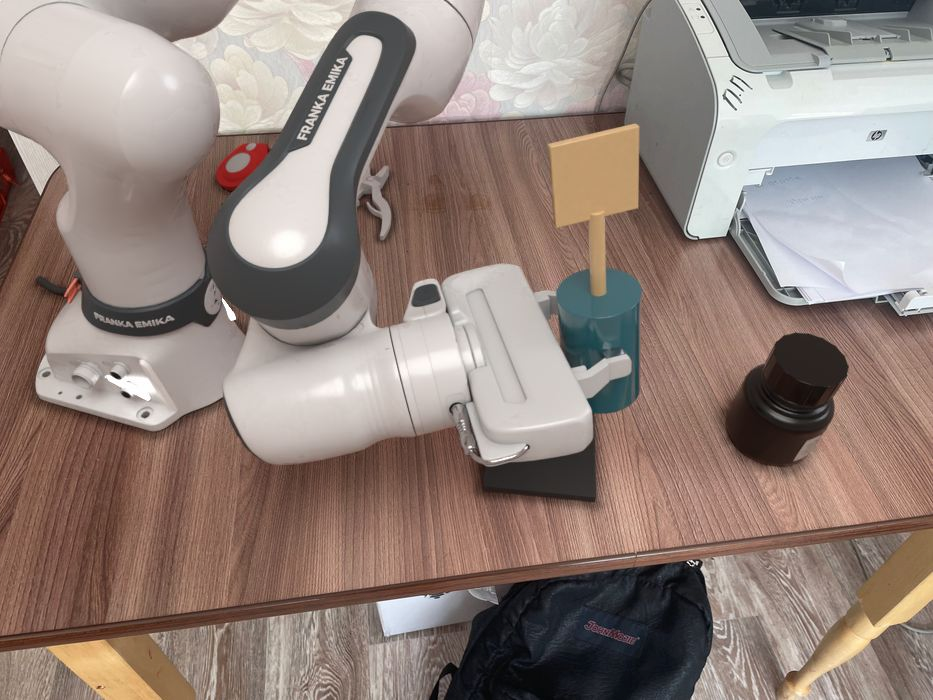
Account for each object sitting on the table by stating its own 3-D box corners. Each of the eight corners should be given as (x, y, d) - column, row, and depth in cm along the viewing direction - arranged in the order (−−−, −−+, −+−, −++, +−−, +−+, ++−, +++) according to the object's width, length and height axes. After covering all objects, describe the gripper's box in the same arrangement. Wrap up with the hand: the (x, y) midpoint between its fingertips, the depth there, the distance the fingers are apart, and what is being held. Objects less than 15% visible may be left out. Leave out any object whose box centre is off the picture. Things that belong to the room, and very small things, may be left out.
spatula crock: (577, 422, 57) (561, 166, 43) (553, 372, 62) (531, 127, 48) (652, 402, 58) (661, 143, 43) (623, 354, 63) (622, 106, 48)
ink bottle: (817, 478, 72) (870, 406, 63) (728, 464, 72) (768, 391, 63) (803, 403, 78) (849, 328, 69) (721, 391, 79) (757, 315, 70)
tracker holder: (201, 183, 100) (229, 133, 105) (218, 205, 104) (244, 155, 108) (273, 183, 96) (299, 131, 101) (288, 205, 100) (312, 154, 104)
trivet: (482, 491, 70) (483, 486, 69) (491, 403, 77) (491, 397, 76) (594, 502, 69) (596, 497, 68) (592, 412, 76) (593, 407, 76)
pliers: (312, 221, 94) (344, 159, 104) (314, 231, 96) (345, 169, 106) (384, 231, 94) (410, 167, 103) (385, 240, 95) (410, 177, 105)
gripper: (460, 439, 45) (665, 386, 46) (413, 270, 61) (567, 233, 62) (473, 500, 49) (662, 450, 50) (426, 327, 65) (570, 291, 66)
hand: (609, 329), depth 56 cm, fingers closed on spatula crock, 6 cm apart
